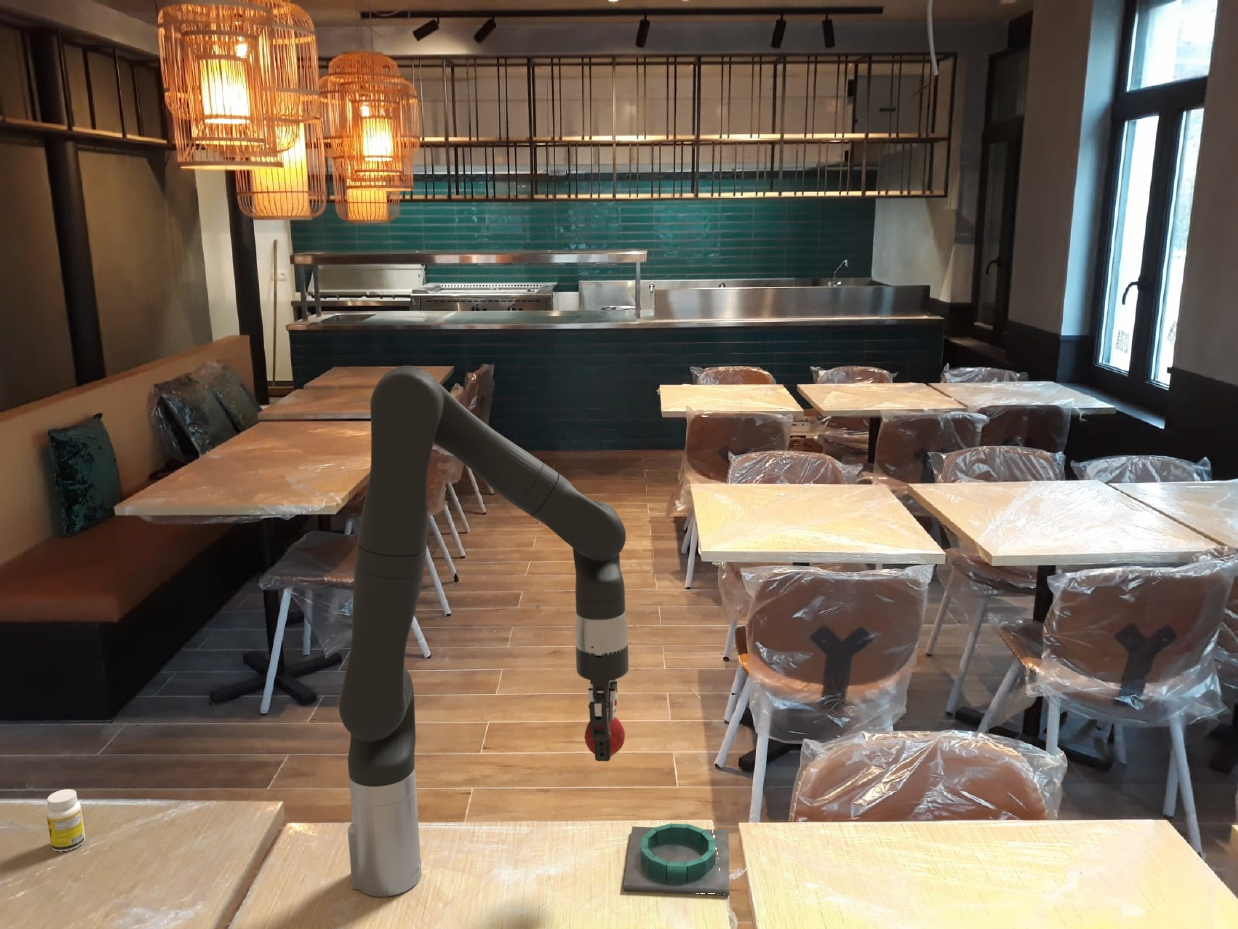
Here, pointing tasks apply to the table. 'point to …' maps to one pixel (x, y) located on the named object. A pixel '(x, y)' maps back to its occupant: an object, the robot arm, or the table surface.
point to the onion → (615, 737)
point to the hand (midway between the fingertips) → (605, 749)
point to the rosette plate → (678, 860)
